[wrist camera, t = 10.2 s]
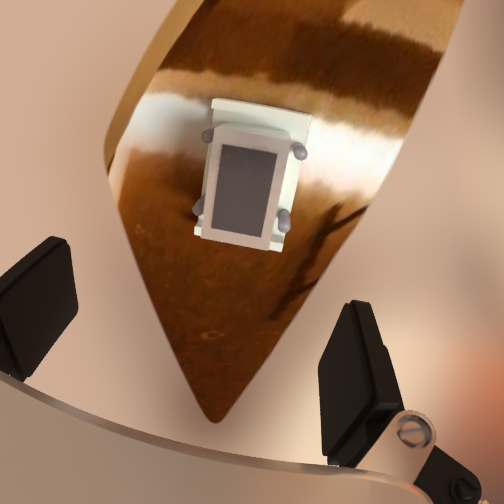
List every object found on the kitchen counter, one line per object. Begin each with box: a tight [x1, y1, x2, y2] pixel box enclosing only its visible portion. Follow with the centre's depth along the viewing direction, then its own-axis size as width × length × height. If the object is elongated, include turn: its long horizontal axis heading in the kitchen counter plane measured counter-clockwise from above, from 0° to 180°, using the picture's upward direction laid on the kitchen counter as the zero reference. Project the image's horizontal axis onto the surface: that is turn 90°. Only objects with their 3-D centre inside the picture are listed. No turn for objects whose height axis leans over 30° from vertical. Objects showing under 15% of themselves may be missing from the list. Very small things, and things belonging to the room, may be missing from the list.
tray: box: [192, 98, 312, 252], centre depth 26 cm, size 12×8×4 cm, turn 170°
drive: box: [201, 122, 291, 251], centre depth 24 cm, size 8×5×6 cm, turn 170°
